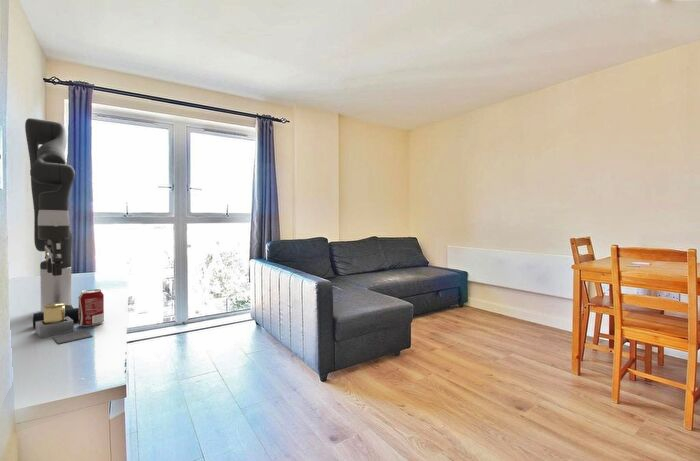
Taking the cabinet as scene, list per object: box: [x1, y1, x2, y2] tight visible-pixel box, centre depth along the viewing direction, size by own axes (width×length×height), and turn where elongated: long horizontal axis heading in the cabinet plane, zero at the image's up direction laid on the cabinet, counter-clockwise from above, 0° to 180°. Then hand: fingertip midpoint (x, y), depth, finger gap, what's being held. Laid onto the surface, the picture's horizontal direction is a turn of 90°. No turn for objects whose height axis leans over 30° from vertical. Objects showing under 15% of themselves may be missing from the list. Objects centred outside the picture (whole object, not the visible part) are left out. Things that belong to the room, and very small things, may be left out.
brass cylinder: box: [44, 303, 65, 325], centre depth 102 cm, size 5×5×9 cm
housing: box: [35, 316, 75, 339], centre depth 102 cm, size 8×8×4 cm
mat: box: [52, 329, 93, 345], centre depth 98 cm, size 8×8×1 cm
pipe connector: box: [32, 304, 79, 329], centre depth 114 cm, size 12×5×15 cm
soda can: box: [78, 288, 105, 328], centre depth 110 cm, size 7×7×12 cm
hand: (54, 274), depth 102 cm, fingers open, 8 cm apart
